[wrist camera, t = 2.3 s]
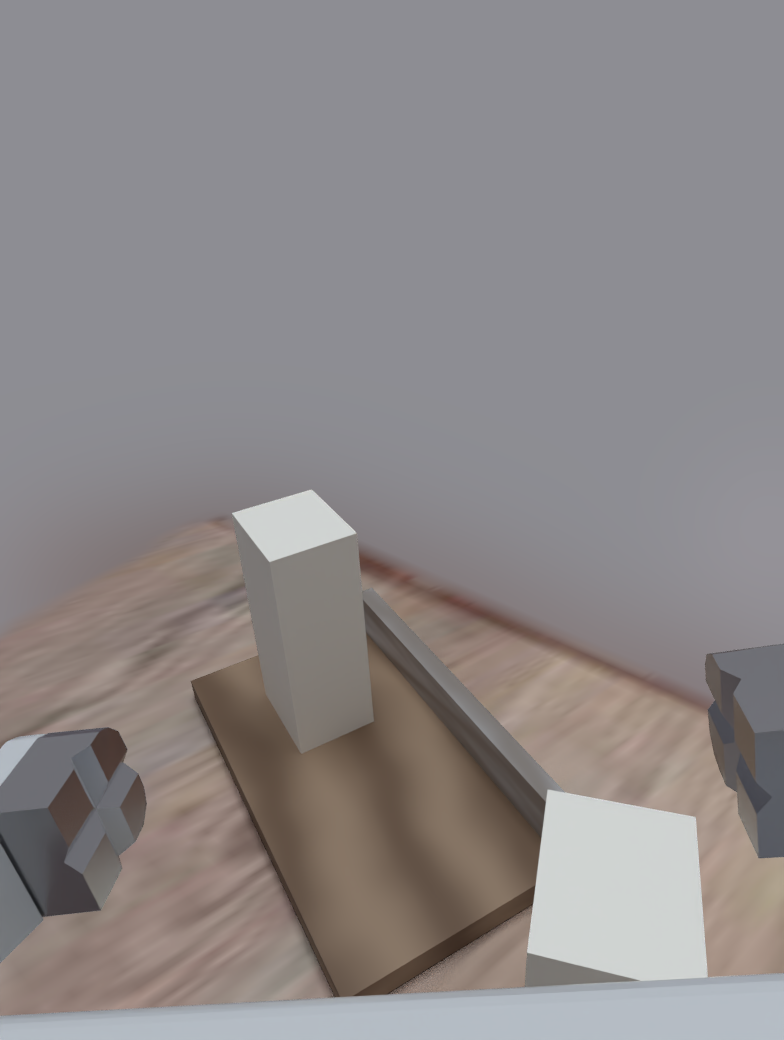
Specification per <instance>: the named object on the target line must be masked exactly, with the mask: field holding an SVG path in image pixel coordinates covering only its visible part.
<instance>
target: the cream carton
mask: <svg viewBox="0 0 784 1040" xmlns="http://www.w3.org/2000/svg"><path fill="white" fill-rule="evenodd" d="M703 977H708V975H707V962H706V948H705V935H704V922H703V909H702V896H701V883H700V869H699V856H698V843H697V830H696V817H692V816H687V815H681V814H676V813H671V812H665V811H660V810H655V809H649V808H644V807H639V806H633V805H628V804H623V803H617V802H612V801H607V800H601V799H596V798H591V797H585V796H580V795H575V794H569V793H564V792H559V791H554V790H547V798H546V806H545V814H544V822H543V830H542V838H541V846H540V854H539V862H538V870H537V878H536V886H535V894H534V902H533V910H532V918H531V926H530V934H529V942H528V950H527V961H526V975H525V987H536V986H555V985H574V984H592V983H611V982H630V981H649V980H667V979H685V978H703Z"/></svg>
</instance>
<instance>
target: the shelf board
mask: <svg viewBox="0 0 784 1040" xmlns="http://www.w3.org/2000/svg"><path fill="white" fill-rule="evenodd" d="M362 596H363V607H364V618H365V629H366V640H367V651H368V662H369V673H370V684H371V695H372V706H373V717H374V722H371V723H369V724H367V725H365V726H362V727H360V728H358V729H356V730H353V731H351V732H349V733H347V734H345V735H342V736H340V737H338V738H336V739H333V740H331V741H329V742H327V743H324V744H322V745H320V746H318V747H316V748H313V749H311V750H309V751H307V752H304V753H302V754H301V753H300V751H299V749H298V748H297V746H296V744H295V743H294V741H293V739H292V738H291V736H290V734H289V733H288V731H287V729H286V727H285V726H284V724H283V722H282V721H281V719H280V717H279V716H278V714H277V712H276V711H275V709H274V707H273V705H272V704H271V702H270V700H269V699H268V697H267V695H266V692H265V687H264V682H263V676H262V671H261V666H260V660H259V655H258V656H255V657H253V658H250V659H247V660H245V661H242V662H240V663H237V664H234V665H232V666H229V667H226V668H224V669H221V670H219V671H216V672H213V673H211V674H208V675H206V676H203V677H200V678H198V679H195V680H192V681H191V683H192V687H193V691H194V695H195V698H196V700H197V703H198V705H199V707H200V709H201V711H202V713H203V715H204V718H205V720H206V722H207V724H208V726H209V728H210V730H211V732H212V735H213V737H214V739H215V741H216V743H217V745H218V747H219V750H220V752H221V754H222V756H223V758H224V760H225V762H226V765H227V767H228V769H229V771H230V773H231V775H232V777H233V780H234V782H235V784H236V786H237V788H238V790H239V792H240V795H241V797H242V799H243V801H244V803H245V805H246V807H247V810H248V812H249V814H250V816H251V818H252V820H253V822H254V825H255V827H256V829H257V831H258V833H259V835H260V837H261V840H262V842H263V844H264V846H265V848H266V850H267V852H268V855H269V857H270V859H271V861H272V863H273V865H274V867H275V870H276V872H277V874H278V876H279V878H280V880H281V882H282V885H283V887H284V889H285V891H286V893H287V895H288V897H289V900H290V902H291V904H292V906H293V908H294V910H295V912H296V915H297V917H298V919H299V921H300V923H301V925H302V927H303V929H304V932H305V934H306V936H307V938H308V940H309V942H310V944H311V947H312V949H313V951H314V953H315V955H316V957H317V959H318V962H319V964H320V966H321V968H322V970H323V972H324V974H325V977H326V979H327V981H328V983H329V985H330V987H331V989H332V992H333V994H334V996H335V997H351V996H369V995H386V994H388V993H389V992H391V991H393V990H394V989H396V988H398V987H399V986H401V985H402V984H404V983H406V982H407V981H409V980H410V979H412V978H414V977H415V976H417V975H419V974H420V973H422V972H423V971H425V970H427V969H428V968H430V967H431V966H433V965H435V964H436V963H438V962H440V961H441V960H443V959H444V958H446V957H448V956H449V955H451V954H453V953H454V952H456V951H457V950H459V949H461V948H462V947H464V946H465V945H467V944H469V943H470V942H472V941H474V940H475V939H477V938H478V937H480V936H482V935H483V934H485V933H486V932H488V931H490V930H491V929H493V928H495V927H496V926H498V925H499V924H501V923H503V922H504V921H506V920H508V919H509V918H511V917H512V916H514V915H516V914H517V913H519V912H520V911H522V910H524V909H525V908H527V907H529V906H530V905H532V904H533V902H534V894H535V886H536V878H537V870H538V862H539V854H540V846H541V838H542V830H543V822H544V814H545V806H546V798H547V790H554V791H559V792H564V791H563V790H562V789H561V788H560V787H559V785H558V784H557V783H556V782H555V781H554V780H553V779H552V778H551V777H550V776H549V775H548V774H547V773H546V772H545V771H544V770H543V769H542V767H541V766H540V765H539V764H538V763H537V762H536V761H535V760H534V759H533V758H532V757H531V756H530V755H529V754H528V753H527V752H526V751H525V749H524V748H523V747H522V746H521V745H520V744H519V743H518V742H517V741H516V740H515V739H514V738H513V737H512V736H511V735H510V734H509V733H508V731H507V730H506V729H505V728H504V727H503V726H502V725H501V724H500V723H499V722H498V721H497V720H496V719H495V718H494V717H493V716H492V715H491V713H490V712H489V711H488V710H487V709H486V708H485V707H484V706H483V705H482V704H481V703H480V702H479V701H478V700H477V699H476V698H475V697H474V695H473V694H472V693H471V692H470V691H469V690H468V689H467V688H466V687H465V686H464V685H463V684H462V683H461V682H460V681H459V680H458V679H457V677H456V676H455V675H454V674H453V673H452V672H451V671H450V670H449V669H448V668H447V667H446V666H445V665H444V664H443V663H442V662H441V661H440V660H439V658H438V657H437V656H436V655H435V654H434V653H433V652H432V651H431V650H430V649H429V648H428V647H427V646H426V645H425V644H424V643H423V642H422V640H421V639H420V638H419V637H418V636H417V635H416V634H415V633H414V632H413V631H412V630H411V629H410V628H409V627H408V626H407V625H406V624H405V622H404V621H403V620H402V619H401V618H400V617H399V616H398V615H397V614H396V613H395V612H394V611H393V610H392V609H391V608H390V607H389V606H388V604H387V603H386V602H385V601H384V600H383V599H382V598H381V597H380V596H379V595H378V594H377V593H376V592H375V591H374V590H373V589H372V588H370V589H367V590H365V591H362ZM564 793H565V792H564Z"/></svg>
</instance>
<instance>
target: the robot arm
mask: <svg viewBox="0 0 784 1040" xmlns="http://www.w3.org/2000/svg"><path fill="white" fill-rule="evenodd" d="M705 670H706V682H707V684H708V686H709V688H710V691H711V693H712V695H713V697H714V699H715V701H714V702H713V704H712V705H711V706H710V708H709V709H708V718H709V729H710V736H711V741H712V746H713V751H714V755H715V758H716V761H717V764H718V767H719V770H720V772H721V775H722V777H723V779H724V782H725V784H726V786H728V787H730V788H731V789H733V790H734V791H736V792H737V798H738V814H739V816H740V818H741V820H742V823H743V825H744V827H745V829H746V831H747V834H748V836H749V838H750V840H751V842H752V845H753V847H754V849H755V851H756V853H757V856H758V858H773V857H784V644H779V645H771V646H763V647H756V648H748V649H741V650H733V651H725V652H718V653H710V654H707V655H706V662H705ZM126 752H127V747H126V745H125V743H124V741H123V739H122V738H121V736H120V734H119V732H118V731H116V730H114V729H111V728H109V727H106V728H96V729H86V730H76V731H66V732H56V733H48V734H38V735H30V736H22V737H17V738H14V739H12V740H9V741H7V742H6V743H5V744H4V745H3V747H2V748H1V749H0V963H1V962H2V961H3V960H4V959H5V958H6V957H7V956H8V955H9V954H10V953H11V952H12V951H13V950H14V949H15V948H16V947H17V946H18V945H19V944H20V943H21V942H22V941H23V940H24V939H25V938H26V937H27V936H28V935H29V934H30V933H31V932H32V931H33V930H34V929H35V928H36V927H37V926H38V925H39V924H40V923H41V922H42V921H43V917H45V916H54V915H63V914H72V913H81V912H90V911H99V910H101V909H102V907H103V905H104V903H105V901H106V899H107V897H108V895H109V894H110V892H111V890H112V888H113V886H114V884H115V882H116V880H117V878H118V876H119V874H120V872H121V870H122V865H121V862H120V858H119V855H120V854H122V853H123V852H124V851H125V850H126V849H127V848H129V847H130V846H131V845H132V844H133V843H135V842H136V840H137V838H138V836H139V833H140V831H141V829H142V827H143V825H144V819H145V812H146V805H147V802H146V796H145V790H144V786H143V783H142V781H141V779H140V776H139V774H138V773H137V772H135V771H134V770H133V769H131V768H130V767H129V766H127V765H126V764H124V763H123V761H124V758H125V755H126ZM0 1040H784V973H773V974H756V975H738V976H720V977H703V978H685V979H667V980H649V981H630V982H611V983H592V984H574V985H555V986H536V987H517V988H499V989H480V990H461V991H442V992H424V993H405V994H387V995H369V996H351V997H333V998H315V999H297V1000H279V1001H261V1002H243V1003H225V1004H207V1005H189V1006H171V1007H152V1008H134V1009H116V1010H98V1011H80V1012H62V1013H43V1014H25V1015H7V1016H0Z"/></svg>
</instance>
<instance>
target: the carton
mask: <svg viewBox="0 0 784 1040" xmlns="http://www.w3.org/2000/svg"><path fill="white" fill-rule="evenodd" d="M232 517H233V523H234V528H235V533H236V539H237V544H238V549H239V554H240V560H241V565H242V570H243V576H244V581H245V586H246V592H247V597H248V602H249V607H250V613H251V618H252V623H253V629H254V634H255V639H256V644H257V650H258V655H259V660H260V666H261V671H262V676H263V682H264V687H265V692H266V695H267V697H268V699H269V700H270V702H271V704H272V705H273V707H274V709H275V711H276V712H277V714H278V716H279V717H280V719H281V721H282V722H283V724H284V726H285V727H286V729H287V731H288V733H289V734H290V736H291V738H292V739H293V741H294V743H295V744H296V746H297V748H298V749H299V751H300V753H301V754H302V753H304V752H307V751H309V750H311V749H313V748H316V747H318V746H320V745H322V744H324V743H327V742H329V741H331V740H333V739H336V738H338V737H340V736H342V735H345V734H347V733H349V732H351V731H353V730H356V729H358V728H360V727H362V726H365V725H367V724H369V723H371V722H374V717H373V706H372V695H371V684H370V673H369V662H368V651H367V640H366V629H365V618H364V607H363V596H362V585H361V574H360V563H359V552H358V541H357V533H356V532H355V531H354V530H353V529H352V528H351V527H350V526H349V525H348V524H347V523H346V522H345V521H344V520H343V519H342V518H341V517H340V516H338V515H337V513H335V512H334V511H333V510H332V509H331V508H330V507H329V506H328V505H327V504H326V503H325V502H324V501H323V500H322V499H321V498H320V497H319V496H318V495H317V494H316V493H315V492H314V491H313V490H308V491H305V492H301V493H298V494H295V495H292V496H288V497H285V498H282V499H278V500H274V501H271V502H268V503H264V504H261V505H258V506H254V507H251V508H247V509H244V510H241V511H237V512H234V513H232Z"/></svg>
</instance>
